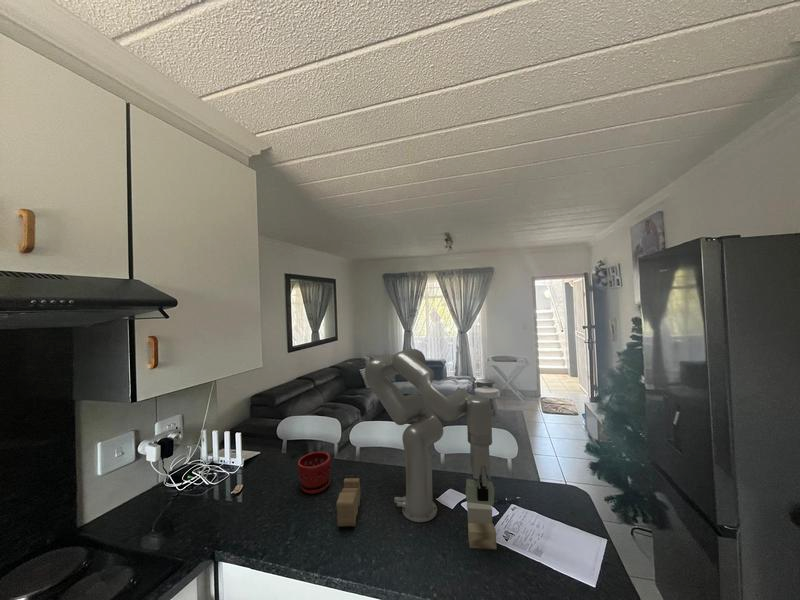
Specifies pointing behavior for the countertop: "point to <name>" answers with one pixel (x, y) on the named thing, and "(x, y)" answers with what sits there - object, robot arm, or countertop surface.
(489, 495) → the sage brick
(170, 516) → the countertop surface
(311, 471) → the plant pot
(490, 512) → the offwhite brick
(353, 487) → the toy train
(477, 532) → the beech brick
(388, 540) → the countertop surface
